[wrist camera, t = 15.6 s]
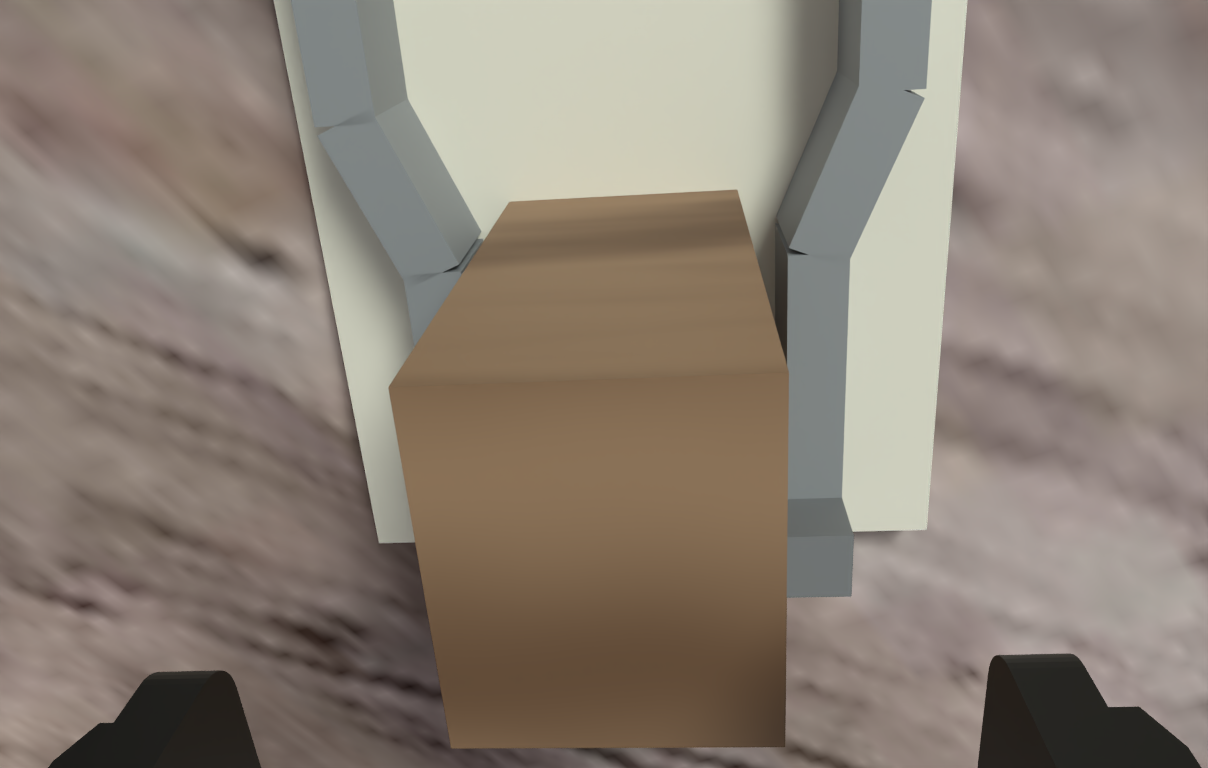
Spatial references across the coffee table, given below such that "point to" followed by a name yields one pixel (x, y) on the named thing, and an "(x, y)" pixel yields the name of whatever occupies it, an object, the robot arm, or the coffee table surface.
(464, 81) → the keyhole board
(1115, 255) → the coffee table surface
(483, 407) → the brown block
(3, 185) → the coffee table surface
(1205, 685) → the coffee table surface
